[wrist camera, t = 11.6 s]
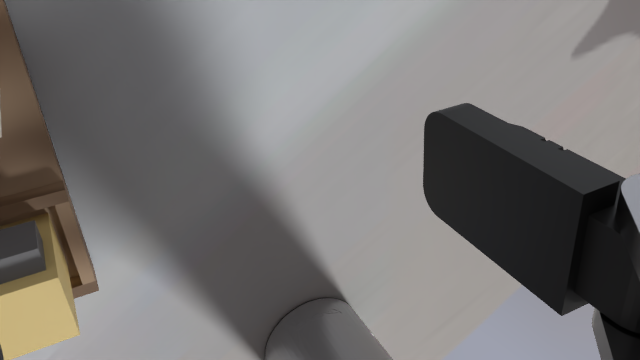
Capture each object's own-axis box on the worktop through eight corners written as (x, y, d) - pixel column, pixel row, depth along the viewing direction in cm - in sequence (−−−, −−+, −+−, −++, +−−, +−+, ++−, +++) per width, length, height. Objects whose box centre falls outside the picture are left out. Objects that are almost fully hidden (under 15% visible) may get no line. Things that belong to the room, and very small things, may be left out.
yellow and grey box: (67, 264, 38) (80, 334, 32) (-1, 286, 36) (0, 363, 31) (40, 193, 35) (49, 255, 29) (-34, 213, 34) (-40, 282, 28)
